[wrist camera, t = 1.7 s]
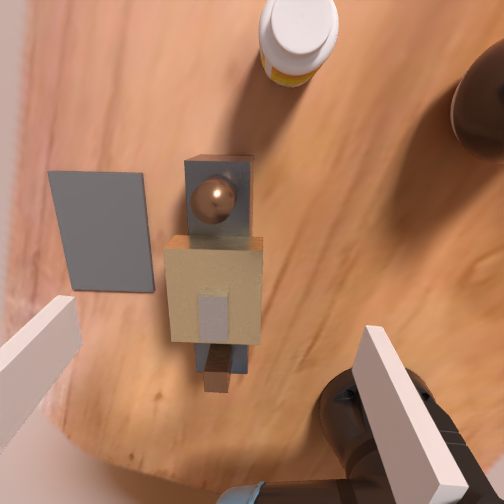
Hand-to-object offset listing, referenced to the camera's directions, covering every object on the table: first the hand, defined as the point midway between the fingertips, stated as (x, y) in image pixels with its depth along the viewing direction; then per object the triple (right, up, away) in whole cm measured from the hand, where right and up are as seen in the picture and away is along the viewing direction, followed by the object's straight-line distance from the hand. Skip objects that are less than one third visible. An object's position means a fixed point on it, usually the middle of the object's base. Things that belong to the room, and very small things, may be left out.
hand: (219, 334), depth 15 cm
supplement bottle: (+5, +22, +15) cm, 27 cm away
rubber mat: (-15, +6, +22) cm, 27 cm away
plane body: (-1, +4, +22) cm, 22 cm away
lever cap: (-2, +1, +16) cm, 16 cm away
